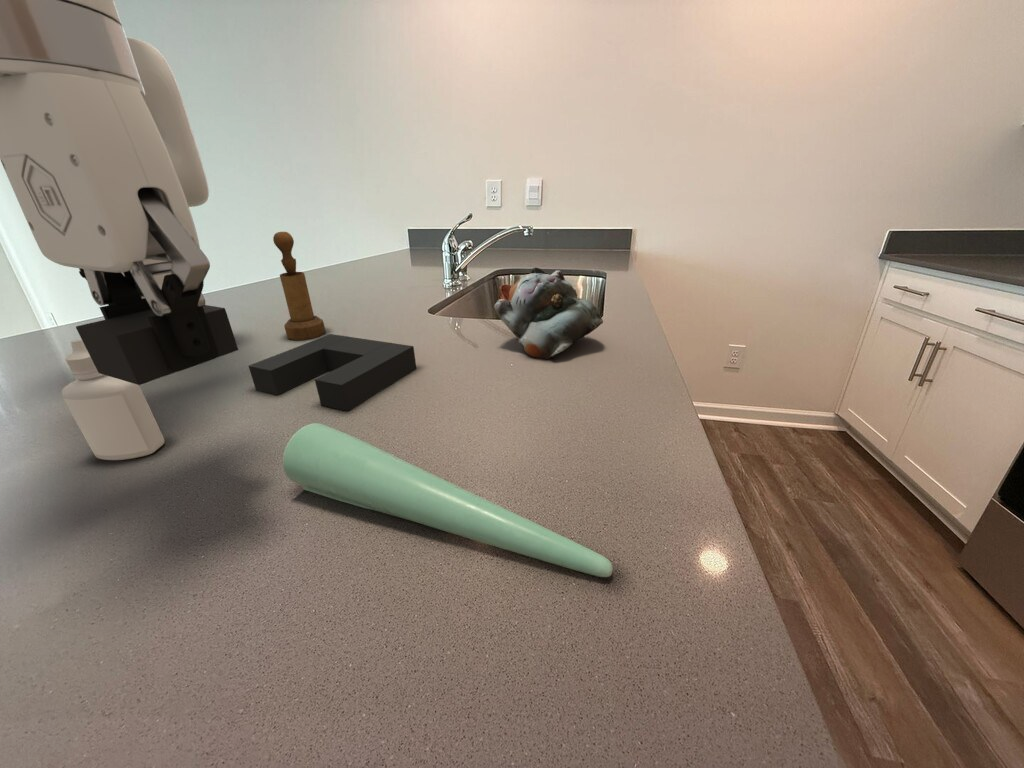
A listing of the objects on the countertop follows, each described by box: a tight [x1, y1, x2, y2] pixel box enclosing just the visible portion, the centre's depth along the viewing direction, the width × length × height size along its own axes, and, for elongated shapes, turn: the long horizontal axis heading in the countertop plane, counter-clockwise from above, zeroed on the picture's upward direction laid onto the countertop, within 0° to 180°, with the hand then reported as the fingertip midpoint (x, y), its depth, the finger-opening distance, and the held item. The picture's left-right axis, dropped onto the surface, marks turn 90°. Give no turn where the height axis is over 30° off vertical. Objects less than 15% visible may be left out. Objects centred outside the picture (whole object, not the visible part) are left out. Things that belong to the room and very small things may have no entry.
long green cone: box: [282, 422, 614, 578], centre depth 31 cm, size 5×6×27 cm
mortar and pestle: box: [272, 231, 326, 341], centre depth 72 cm, size 7×6×18 cm
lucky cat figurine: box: [493, 267, 604, 360], centre depth 66 cm, size 15×12×14 cm
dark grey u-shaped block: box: [247, 333, 417, 412], centre depth 56 cm, size 16×14×4 cm
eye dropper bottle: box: [61, 338, 165, 461], centre depth 39 cm, size 4×6×12 cm
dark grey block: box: [75, 304, 239, 386], centre depth 30 cm, size 5×7×4 cm
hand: (171, 355), depth 31 cm, fingers closed on dark grey block, 5 cm apart
